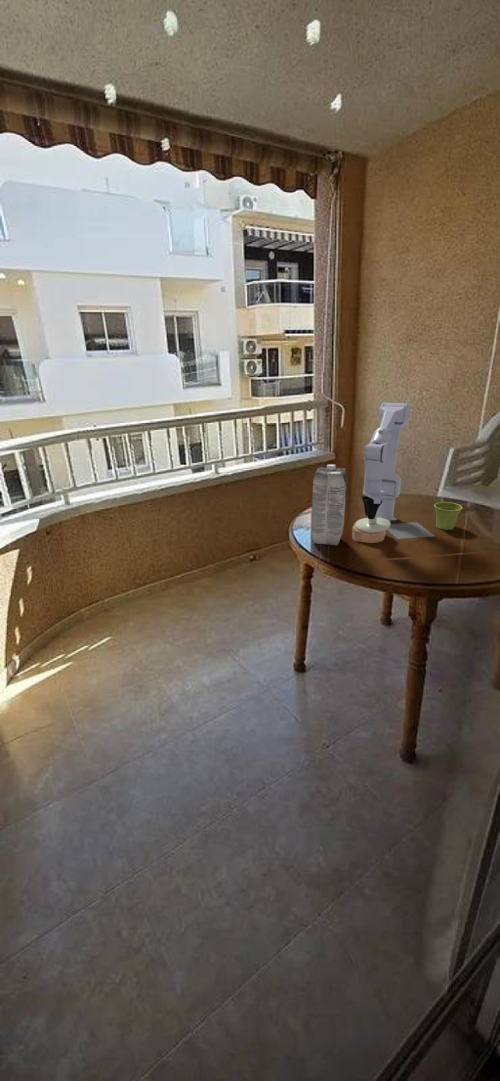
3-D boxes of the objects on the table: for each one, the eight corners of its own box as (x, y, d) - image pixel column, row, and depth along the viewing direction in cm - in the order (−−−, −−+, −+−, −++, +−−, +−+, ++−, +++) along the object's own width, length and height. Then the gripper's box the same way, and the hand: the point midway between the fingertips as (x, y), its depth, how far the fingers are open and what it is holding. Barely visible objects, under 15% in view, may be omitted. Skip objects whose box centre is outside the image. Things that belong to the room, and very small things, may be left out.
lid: (351, 522, 160) (351, 509, 158) (383, 518, 160) (383, 505, 158) (360, 534, 149) (360, 521, 147) (395, 530, 149) (395, 516, 147)
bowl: (348, 533, 161) (348, 523, 159) (377, 531, 162) (378, 521, 160) (358, 545, 151) (359, 534, 149) (389, 542, 152) (390, 532, 150)
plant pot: (461, 533, 157) (465, 510, 154) (433, 532, 159) (436, 509, 156) (455, 524, 166) (459, 502, 162) (429, 523, 168) (432, 501, 164)
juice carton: (340, 547, 149) (344, 470, 139) (310, 544, 152) (312, 468, 142) (343, 537, 157) (348, 463, 146) (314, 534, 160) (317, 462, 150)
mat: (381, 526, 166) (381, 524, 166) (416, 523, 167) (416, 522, 167) (396, 540, 153) (397, 538, 153) (434, 537, 154) (435, 536, 154)
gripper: (391, 484, 141) (387, 524, 146) (378, 473, 154) (375, 509, 160) (369, 485, 141) (366, 524, 146) (358, 474, 154) (356, 510, 160)
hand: (369, 517), depth 153 cm, fingers closed on lid, 3 cm apart
